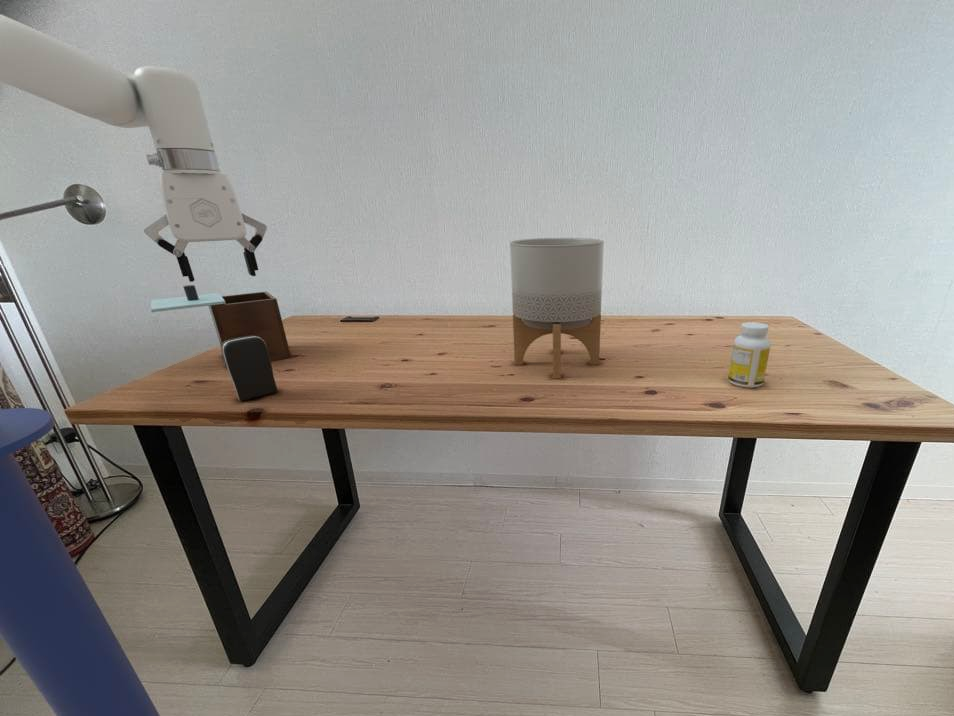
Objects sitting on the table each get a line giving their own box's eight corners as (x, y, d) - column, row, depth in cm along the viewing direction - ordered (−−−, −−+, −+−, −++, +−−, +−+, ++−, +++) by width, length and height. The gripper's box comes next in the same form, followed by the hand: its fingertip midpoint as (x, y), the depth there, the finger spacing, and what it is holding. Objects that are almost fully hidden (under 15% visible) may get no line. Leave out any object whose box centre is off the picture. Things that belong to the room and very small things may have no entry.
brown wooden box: (229, 368, 102) (210, 306, 96) (223, 355, 111) (205, 297, 106) (291, 357, 109) (276, 298, 103) (280, 345, 118) (266, 291, 113)
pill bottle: (763, 379, 91) (775, 322, 87) (762, 391, 86) (774, 330, 81) (729, 375, 94) (738, 319, 89) (725, 385, 89) (735, 327, 84)
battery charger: (273, 387, 91) (258, 331, 86) (280, 392, 89) (264, 335, 84) (234, 397, 87) (215, 339, 82) (239, 403, 84) (221, 343, 80)
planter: (595, 350, 110) (599, 237, 100) (602, 378, 93) (608, 244, 83) (518, 351, 111) (513, 238, 100) (511, 378, 94) (505, 246, 83)
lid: (152, 312, 91) (145, 294, 89) (152, 302, 100) (146, 286, 99) (225, 303, 98) (220, 286, 96) (219, 295, 107) (215, 279, 106)
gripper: (116, 160, 64) (160, 286, 71) (256, 164, 74) (283, 275, 81) (119, 164, 69) (160, 280, 77) (249, 167, 79) (275, 270, 86)
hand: (223, 277), depth 79 cm, fingers open, 8 cm apart
